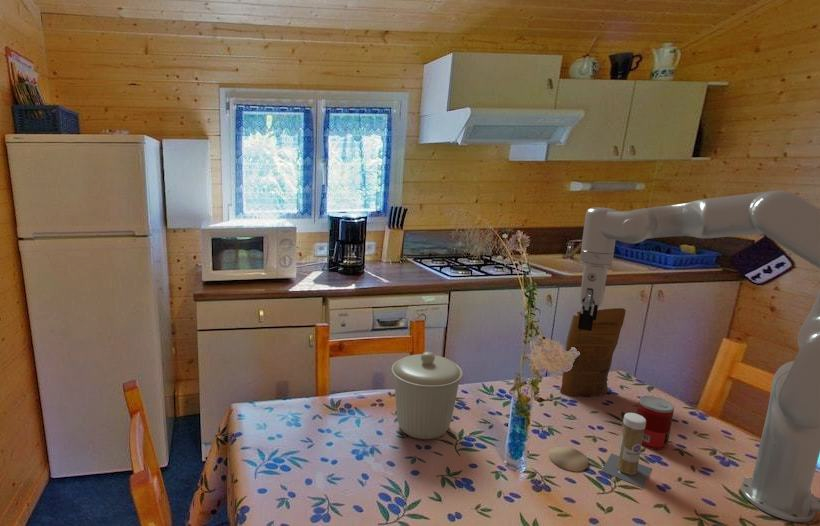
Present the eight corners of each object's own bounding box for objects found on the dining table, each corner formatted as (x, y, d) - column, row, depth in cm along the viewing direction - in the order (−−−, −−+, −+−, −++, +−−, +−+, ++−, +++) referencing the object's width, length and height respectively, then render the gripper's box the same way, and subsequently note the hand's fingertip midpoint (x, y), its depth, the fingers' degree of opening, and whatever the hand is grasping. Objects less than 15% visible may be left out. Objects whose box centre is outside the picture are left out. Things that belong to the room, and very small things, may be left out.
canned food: (671, 452, 117) (678, 412, 115) (637, 447, 119) (643, 407, 116) (661, 435, 124) (668, 397, 122) (629, 431, 126) (635, 393, 124)
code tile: (651, 468, 110) (651, 468, 110) (643, 488, 103) (643, 488, 103) (611, 453, 115) (611, 453, 115) (601, 471, 108) (601, 470, 108)
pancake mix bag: (619, 397, 145) (633, 310, 139) (563, 400, 141) (574, 311, 135) (607, 387, 151) (619, 304, 145) (552, 389, 148) (562, 304, 142)
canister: (471, 439, 118) (478, 361, 114) (406, 455, 110) (411, 372, 106) (437, 405, 134) (441, 336, 130) (378, 417, 126) (381, 343, 122)
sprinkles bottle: (628, 478, 106) (637, 424, 103) (611, 466, 110) (619, 414, 107) (641, 472, 108) (651, 420, 105) (625, 461, 112) (633, 410, 109)
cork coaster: (593, 458, 113) (593, 456, 113) (581, 476, 106) (581, 474, 106) (556, 443, 118) (556, 441, 118) (543, 460, 111) (543, 458, 111)
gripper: (609, 266, 106) (599, 337, 110) (615, 255, 121) (606, 318, 125) (575, 261, 109) (566, 330, 113) (584, 251, 125) (576, 312, 128)
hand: (587, 324), depth 119 cm, fingers open, 9 cm apart
